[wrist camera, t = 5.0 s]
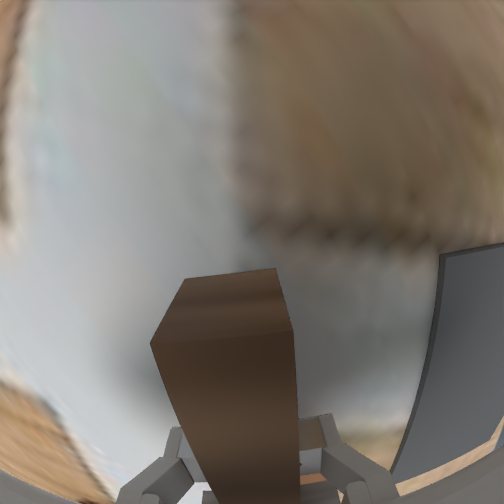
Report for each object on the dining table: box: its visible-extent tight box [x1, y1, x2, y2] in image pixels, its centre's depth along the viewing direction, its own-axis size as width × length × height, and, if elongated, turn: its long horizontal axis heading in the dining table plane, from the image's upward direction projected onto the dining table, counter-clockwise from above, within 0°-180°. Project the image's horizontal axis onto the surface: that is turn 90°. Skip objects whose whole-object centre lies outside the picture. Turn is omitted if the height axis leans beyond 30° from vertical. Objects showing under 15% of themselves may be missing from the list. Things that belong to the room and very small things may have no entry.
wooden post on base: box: [150, 268, 341, 504], centre depth 8 cm, size 15×8×8 cm, turn 7°
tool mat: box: [390, 243, 504, 484], centre depth 17 cm, size 24×14×1 cm, turn 7°
